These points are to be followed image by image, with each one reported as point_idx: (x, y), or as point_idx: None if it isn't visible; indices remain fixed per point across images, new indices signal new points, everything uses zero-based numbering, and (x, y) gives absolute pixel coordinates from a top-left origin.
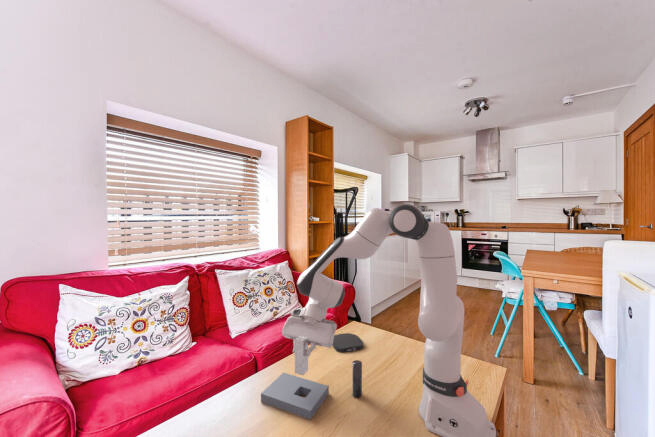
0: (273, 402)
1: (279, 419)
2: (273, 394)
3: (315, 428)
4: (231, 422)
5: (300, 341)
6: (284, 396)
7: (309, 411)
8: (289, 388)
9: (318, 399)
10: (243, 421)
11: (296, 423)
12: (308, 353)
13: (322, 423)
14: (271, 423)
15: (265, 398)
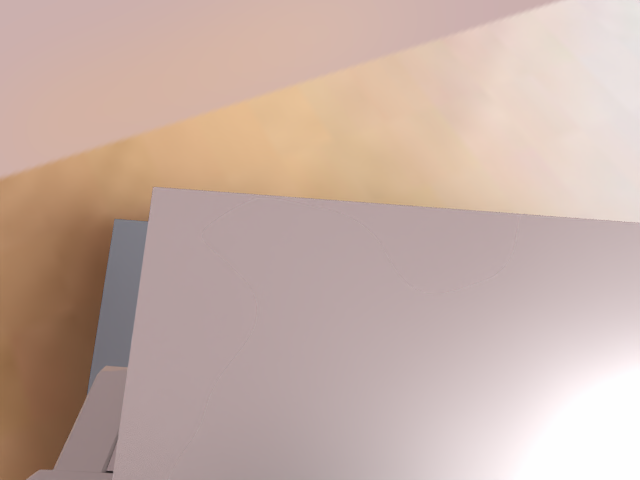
0: None
1: (357, 169)
2: None
3: (68, 182)
4: (632, 48)
5: (370, 215)
6: None
7: (126, 222)
8: None
9: (92, 381)
10: (570, 77)
11: (222, 177)
12: (89, 409)
13: (30, 242)
14: (388, 121)
15: None
